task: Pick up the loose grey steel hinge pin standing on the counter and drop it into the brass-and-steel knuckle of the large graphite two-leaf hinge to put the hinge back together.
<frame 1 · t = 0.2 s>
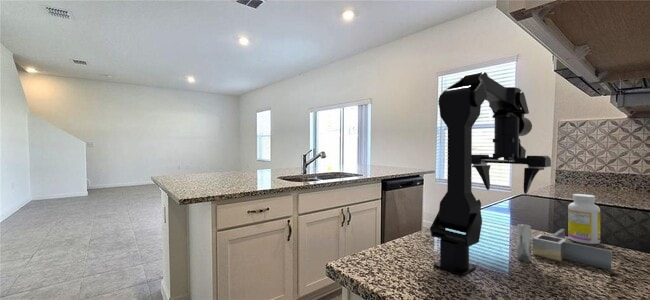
hand: (506, 191, 78), 14 cm above the countertop, fingers open, 9 cm apart
hinge: (549, 254, 69), on the countertop
supplement bottle: (583, 241, 79), on the countertop
hinge pin: (523, 259, 66), on the countertop
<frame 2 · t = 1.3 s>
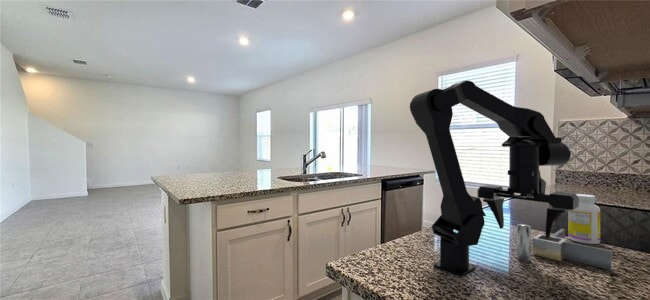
hand: (523, 232, 66), 6 cm above the countertop, fingers open, 9 cm apart
nothing on the countertop moved.
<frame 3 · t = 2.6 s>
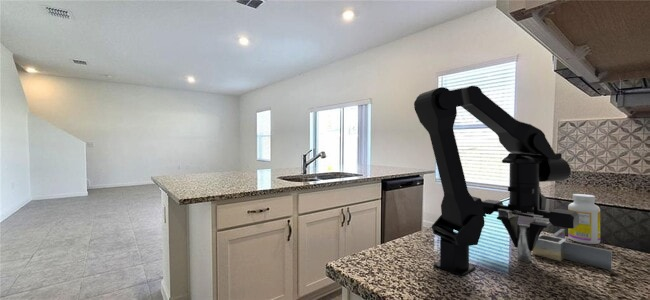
hand: (523, 248, 66), 3 cm above the countertop, fingers closed on hinge pin, 3 cm apart
hinge pin: (523, 259, 66), on the countertop, touching gripper
everything else where it was.
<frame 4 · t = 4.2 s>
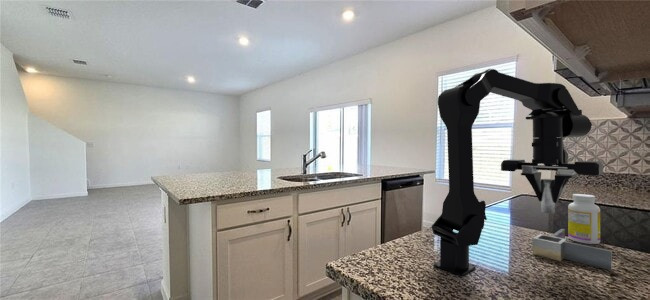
hand: (548, 202, 69), 13 cm above the countertop, fingers closed on hinge pin, 3 cm apart
hinge pin: (548, 212, 69), point 11 cm above the countertop, touching gripper
everything else where it was.
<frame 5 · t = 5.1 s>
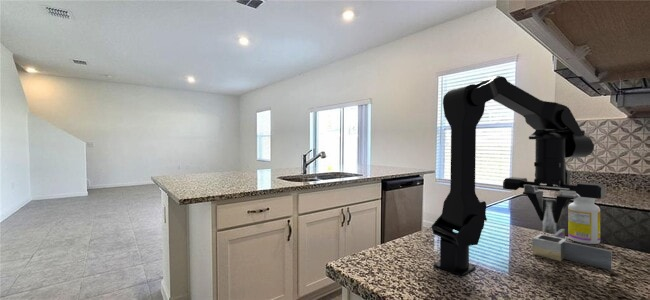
hand: (549, 221, 69), 8 cm above the countertop, fingers closed on hinge pin, 3 cm apart
hinge pin: (549, 232, 69), point 6 cm above the countertop, touching gripper
everything else where it was.
when the fingers open (5 cm above the countertop, at t = 5.8 s): hinge pin drops 3 cm, resting in hinge.
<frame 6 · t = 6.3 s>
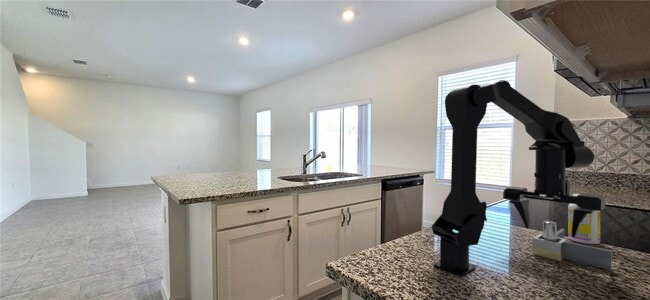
hand: (549, 232, 69), 5 cm above the countertop, fingers open, 9 cm apart
hinge pin: (549, 254, 69), resting in hinge
everything else where it was.
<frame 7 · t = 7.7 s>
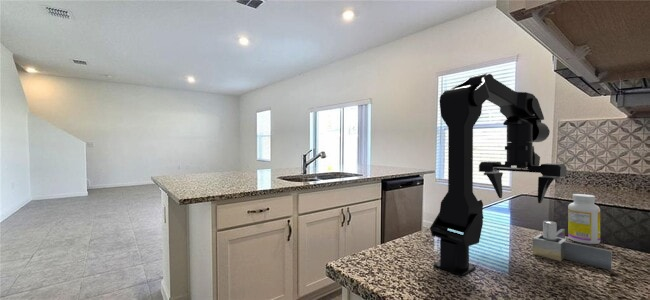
hand: (519, 200, 76), 12 cm above the countertop, fingers open, 9 cm apart
nothing on the countertop moved.
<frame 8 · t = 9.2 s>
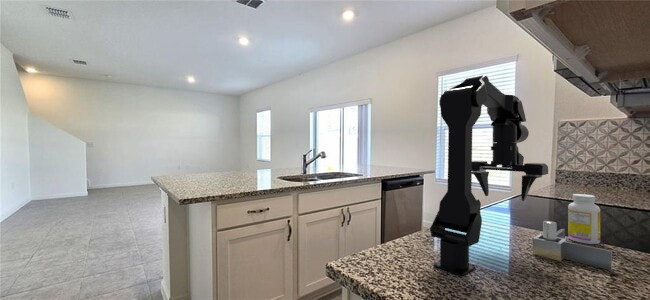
hand: (504, 198, 79), 12 cm above the countertop, fingers open, 9 cm apart
nothing on the countertop moved.
at the end: hinge pin 0.0 cm from the hinge (horizontally); hinge pin resting in hinge; the gripper is holding nothing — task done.
